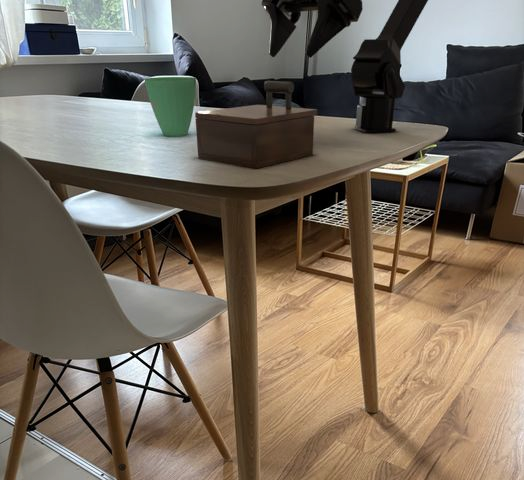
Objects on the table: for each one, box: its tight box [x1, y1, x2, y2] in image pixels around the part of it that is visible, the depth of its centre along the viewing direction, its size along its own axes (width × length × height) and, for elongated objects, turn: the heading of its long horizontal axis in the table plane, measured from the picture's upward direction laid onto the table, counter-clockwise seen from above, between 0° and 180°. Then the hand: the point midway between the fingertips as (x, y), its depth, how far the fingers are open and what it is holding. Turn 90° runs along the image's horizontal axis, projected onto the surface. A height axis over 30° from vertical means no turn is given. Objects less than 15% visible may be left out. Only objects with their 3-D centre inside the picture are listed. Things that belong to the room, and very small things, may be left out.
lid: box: [194, 80, 319, 125], centre depth 78 cm, size 14×13×5 cm
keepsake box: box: [195, 115, 315, 170], centre depth 80 cm, size 14×13×6 cm
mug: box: [144, 76, 197, 137], centre depth 102 cm, size 15×10×10 cm
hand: (289, 55), depth 85 cm, fingers open, 9 cm apart
